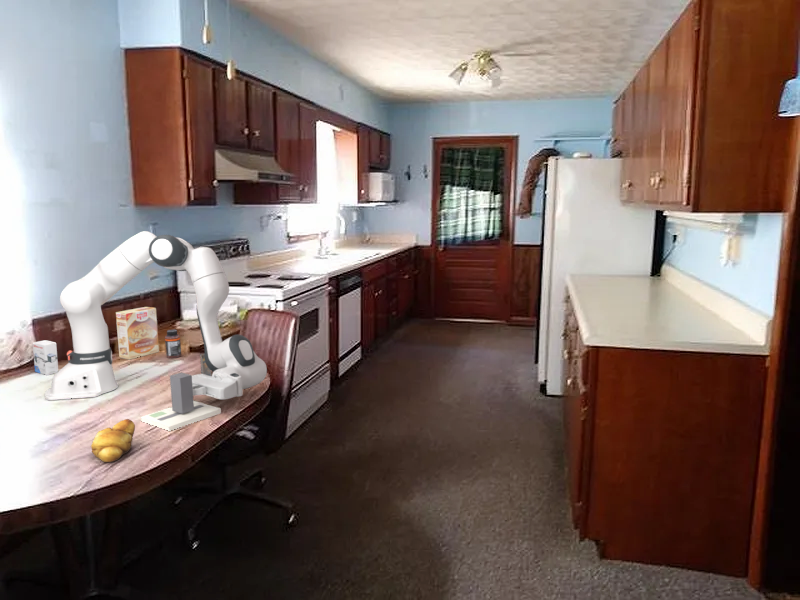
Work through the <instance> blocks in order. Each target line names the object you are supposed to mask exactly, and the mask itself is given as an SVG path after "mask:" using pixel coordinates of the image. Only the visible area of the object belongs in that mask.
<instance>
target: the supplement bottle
mask: <svg viewBox="0 0 800 600" xmlns="http://www.w3.org/2000/svg"><path fill="white" fill-rule="evenodd" d="M164 341H165V342H164V343H165V355H166V358H168V359H177V358H180V357H181V356H182V346H181V344H182V343H181V336H180V335H179V334H178V330H177V329H167V331H166V335H165V336H164Z"/></svg>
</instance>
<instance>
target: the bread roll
mask: <svg viewBox="0 0 800 600" xmlns="http://www.w3.org/2000/svg"><path fill="white" fill-rule="evenodd" d="M135 429H136V425H135V422H134V421H132V419H130V418H125V419H122V420H120V421H119V422H117V423H116V424H114V425H113V426H112V427H105V428H104V429H103V428H102V429H101V430H98V432H97V433H96V434H95V436H94V438H93V441H92V443H91V445H90V448H91V452H92V454H93V455H94V456H95V457H96V458H98V459H99V460H100V461H102V462H104V463H111V462H115V461H117V460H119V459H120V458H121V457H122V455H125V454H126V453H128V452H129V451H130V450H131V448H132V443H133V438H134V434H135Z"/></svg>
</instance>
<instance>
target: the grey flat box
mask: <svg viewBox="0 0 800 600" xmlns="http://www.w3.org/2000/svg"><path fill="white" fill-rule="evenodd" d="M204 355H205V353H200V354H199V357H200V372H201V373H200V374H205V375H209V376H212V372H211V370H210V369H209V368H208V366H207V365H206V362H205V356H204Z"/></svg>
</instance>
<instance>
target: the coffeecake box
mask: <svg viewBox="0 0 800 600" xmlns="http://www.w3.org/2000/svg"><path fill="white" fill-rule="evenodd" d="M115 318H116V330H117V331H116V332H117V342H118V345H117V346H118V355H119V356H118V357H119V358H120V359H125V360H133V359H138V358H140V356H141V357H144V356H148V355H153V354H156V353H159V352H160V346H159V334H158V333H159V331H158V320H157V319H158V317H157V308H156V307H152V306H151V307H150V306H144V307H136V308H133V309H126V310H122V311H121V310H120V311H116V312H115ZM137 357H138V358H137Z"/></svg>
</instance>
